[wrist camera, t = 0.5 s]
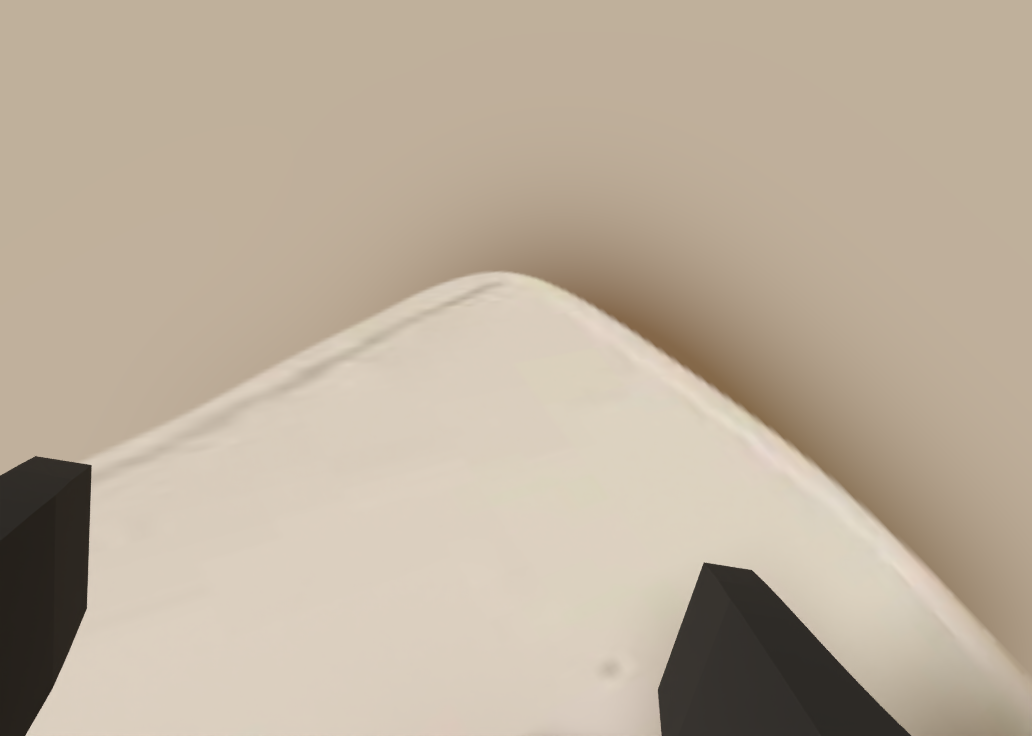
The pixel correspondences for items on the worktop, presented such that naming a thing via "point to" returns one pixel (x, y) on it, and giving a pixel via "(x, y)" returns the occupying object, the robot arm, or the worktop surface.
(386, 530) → the worktop surface
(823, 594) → the worktop surface
